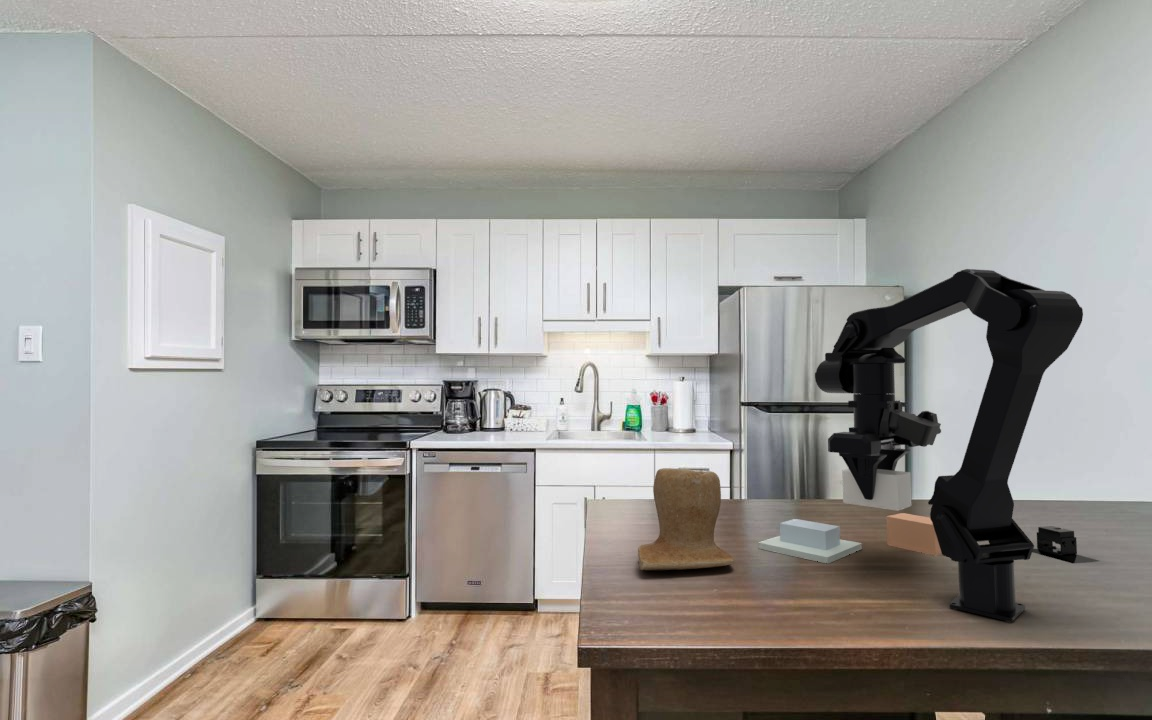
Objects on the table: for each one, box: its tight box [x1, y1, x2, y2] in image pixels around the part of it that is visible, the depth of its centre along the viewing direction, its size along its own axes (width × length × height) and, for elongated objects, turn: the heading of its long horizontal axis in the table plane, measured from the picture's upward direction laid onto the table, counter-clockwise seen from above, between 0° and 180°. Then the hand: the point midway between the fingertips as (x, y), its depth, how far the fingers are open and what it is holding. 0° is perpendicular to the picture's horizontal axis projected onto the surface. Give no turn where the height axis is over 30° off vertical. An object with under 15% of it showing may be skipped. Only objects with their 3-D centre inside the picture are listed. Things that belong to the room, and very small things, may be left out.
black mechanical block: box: [1032, 525, 1100, 564], centre depth 98 cm, size 12×7×5 cm, turn 13°
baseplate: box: [757, 518, 863, 564], centre depth 102 cm, size 12×12×4 cm
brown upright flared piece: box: [637, 467, 735, 571], centre depth 94 cm, size 15×12×15 cm
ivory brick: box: [841, 468, 912, 512], centre depth 92 cm, size 5×8×5 cm, turn 41°
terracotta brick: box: [886, 512, 942, 556], centre depth 102 cm, size 5×8×5 cm, turn 34°
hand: (876, 497), depth 92 cm, fingers closed on ivory brick, 5 cm apart
